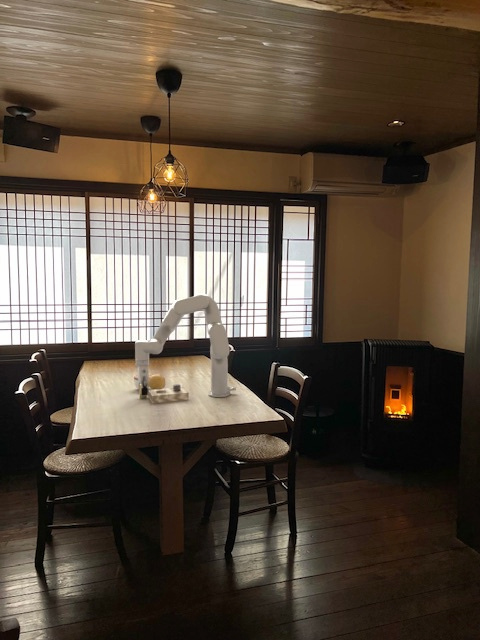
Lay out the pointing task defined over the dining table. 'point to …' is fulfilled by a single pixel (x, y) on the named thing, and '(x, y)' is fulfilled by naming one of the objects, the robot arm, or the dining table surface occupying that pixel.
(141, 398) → the brass cylinder
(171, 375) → the dining table surface
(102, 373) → the dining table surface
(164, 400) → the jig
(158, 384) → the stress ball
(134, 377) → the lidded jar
